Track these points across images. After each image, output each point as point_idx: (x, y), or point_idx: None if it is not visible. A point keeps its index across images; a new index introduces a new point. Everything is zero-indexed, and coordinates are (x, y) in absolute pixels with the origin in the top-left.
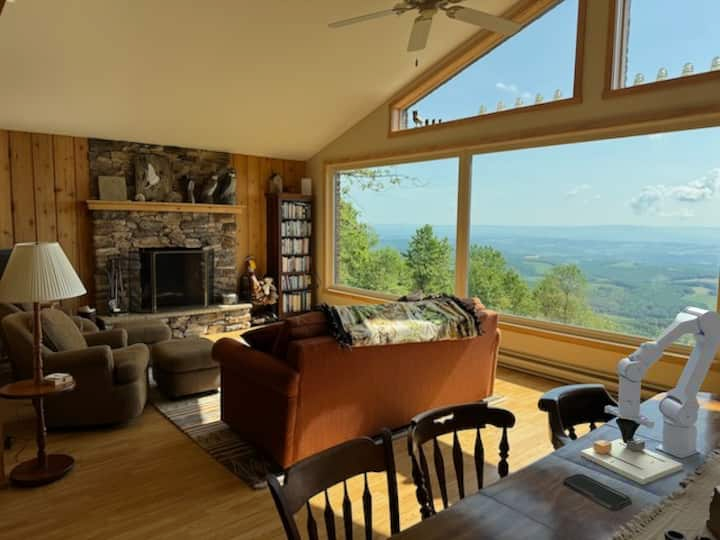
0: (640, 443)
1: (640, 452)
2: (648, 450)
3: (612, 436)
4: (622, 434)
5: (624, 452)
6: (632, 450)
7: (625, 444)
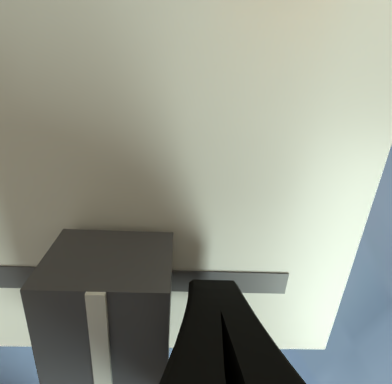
0: (38, 346)
1: None
2: None
3: (388, 366)
4: (264, 353)
5: (133, 135)
6: None
7: None
